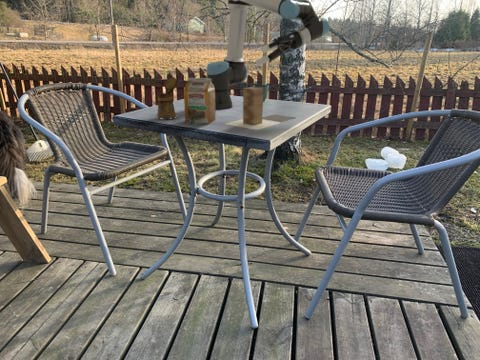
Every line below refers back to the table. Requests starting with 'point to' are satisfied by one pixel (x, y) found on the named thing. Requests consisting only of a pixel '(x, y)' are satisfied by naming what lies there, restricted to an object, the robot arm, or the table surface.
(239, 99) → the table surface
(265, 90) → the flower pot
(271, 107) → the table surface
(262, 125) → the beige square pad
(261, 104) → the walnut block
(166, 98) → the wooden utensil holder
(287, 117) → the mat
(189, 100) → the milk carton
